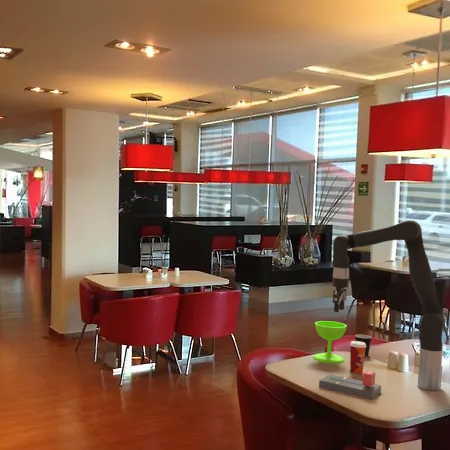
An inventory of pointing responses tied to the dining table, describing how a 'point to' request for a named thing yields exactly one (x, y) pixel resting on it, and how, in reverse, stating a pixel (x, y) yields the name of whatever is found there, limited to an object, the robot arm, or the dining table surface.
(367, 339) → the coffee mug
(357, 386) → the console
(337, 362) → the wineglass
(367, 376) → the fader
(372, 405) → the dining table surface
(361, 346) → the paper cup
